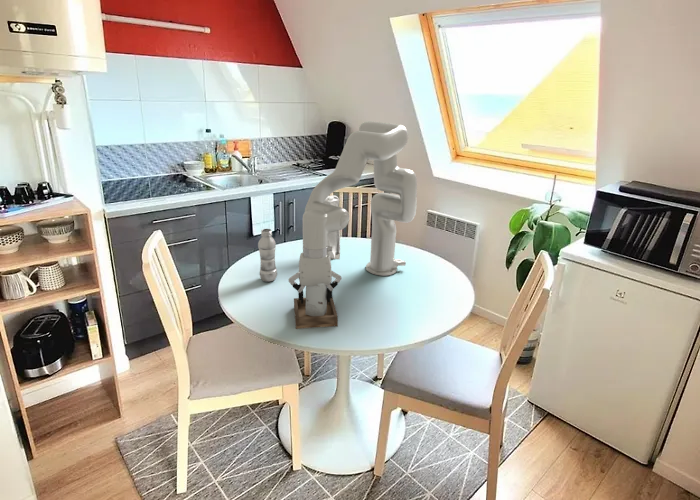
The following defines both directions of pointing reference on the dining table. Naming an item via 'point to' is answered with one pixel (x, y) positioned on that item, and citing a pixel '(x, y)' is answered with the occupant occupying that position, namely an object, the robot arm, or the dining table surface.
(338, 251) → the skyscraper
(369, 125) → the robot arm
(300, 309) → the walnut tray
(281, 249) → the dining table surface
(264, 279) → the plastic bottle
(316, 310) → the skincare box
